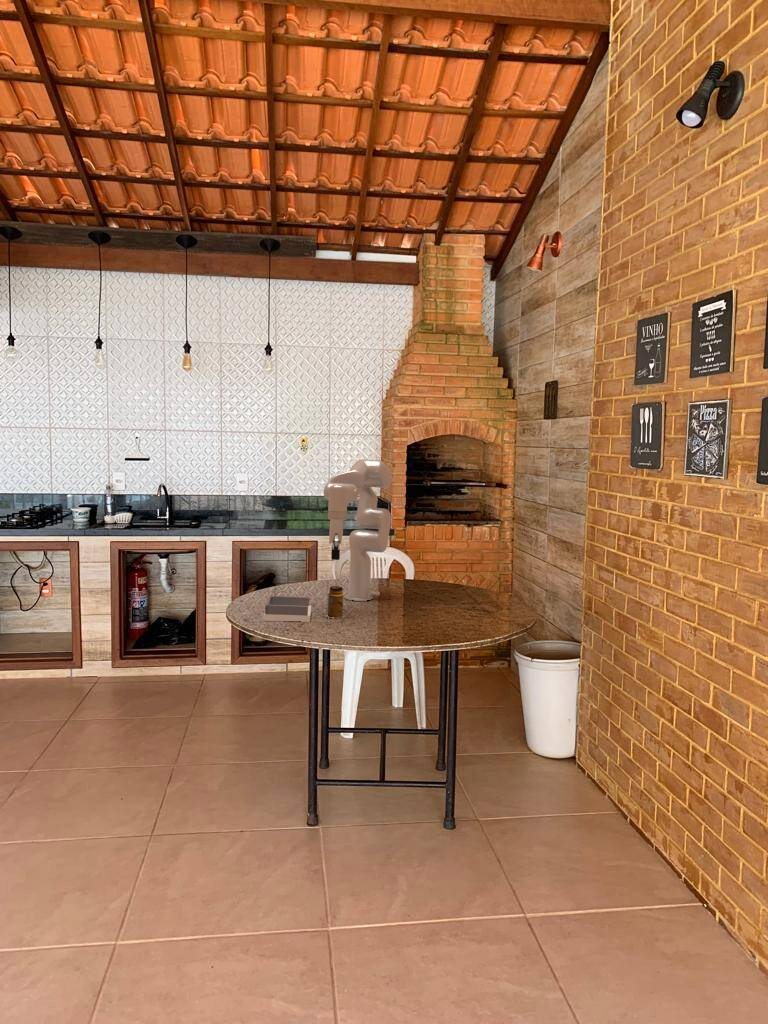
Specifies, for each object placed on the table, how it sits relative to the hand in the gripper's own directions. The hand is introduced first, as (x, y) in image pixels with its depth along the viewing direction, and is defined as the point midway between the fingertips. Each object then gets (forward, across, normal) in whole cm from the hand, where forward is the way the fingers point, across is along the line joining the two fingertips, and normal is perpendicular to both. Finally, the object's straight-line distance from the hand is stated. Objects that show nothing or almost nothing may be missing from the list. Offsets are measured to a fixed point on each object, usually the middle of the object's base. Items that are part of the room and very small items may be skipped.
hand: (335, 557), depth 280 cm
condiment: (+24, 0, 0) cm, 24 cm away
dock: (+24, +2, -18) cm, 30 cm away
